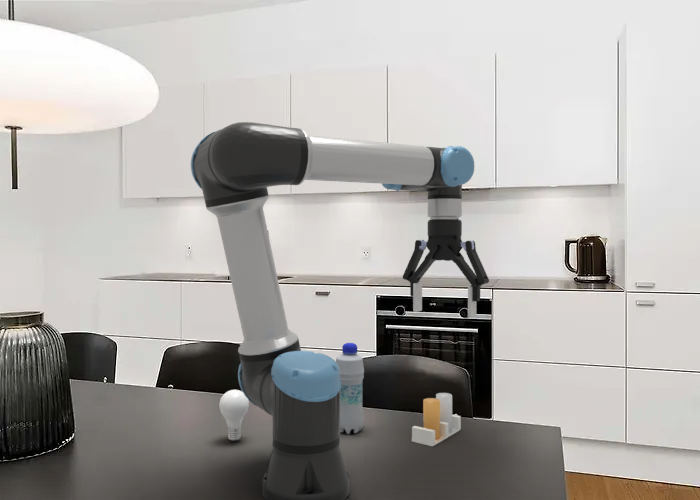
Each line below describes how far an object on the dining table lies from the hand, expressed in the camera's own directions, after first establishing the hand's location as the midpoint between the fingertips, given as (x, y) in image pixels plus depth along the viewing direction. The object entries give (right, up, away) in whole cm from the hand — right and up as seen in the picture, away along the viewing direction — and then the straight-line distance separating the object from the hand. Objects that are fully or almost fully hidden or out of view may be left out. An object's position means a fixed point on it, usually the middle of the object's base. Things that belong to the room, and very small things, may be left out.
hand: (444, 313), depth 135 cm
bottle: (-21, -27, +2) cm, 34 cm away
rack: (-2, -27, -2) cm, 27 cm away
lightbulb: (-46, -27, -5) cm, 54 cm away
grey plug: (0, -26, +1) cm, 26 cm away
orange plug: (-3, -26, -4) cm, 27 cm away
